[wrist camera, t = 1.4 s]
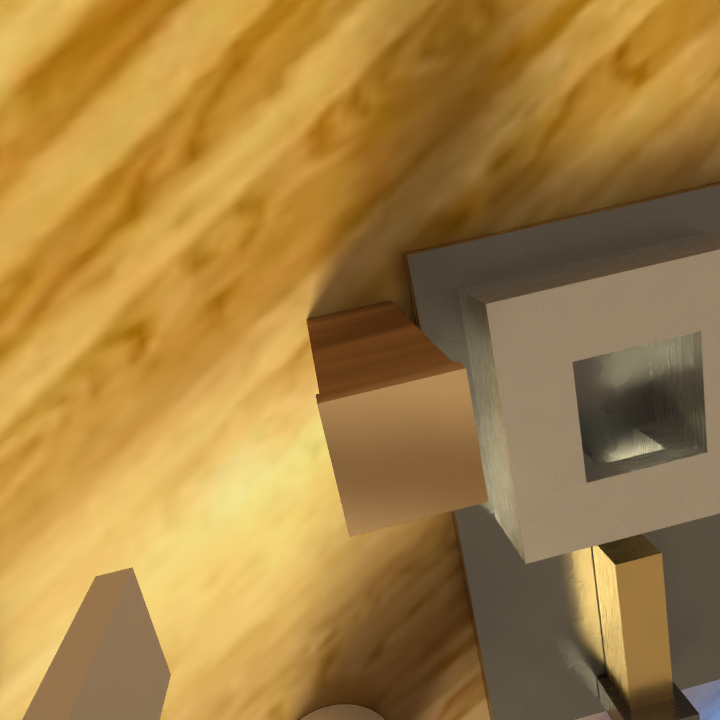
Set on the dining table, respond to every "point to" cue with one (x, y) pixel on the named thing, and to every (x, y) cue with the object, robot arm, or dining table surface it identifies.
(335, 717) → the coffee cup
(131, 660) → the robot arm
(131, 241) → the dining table surface
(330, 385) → the peg
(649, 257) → the dock
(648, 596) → the pin
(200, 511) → the dining table surface
